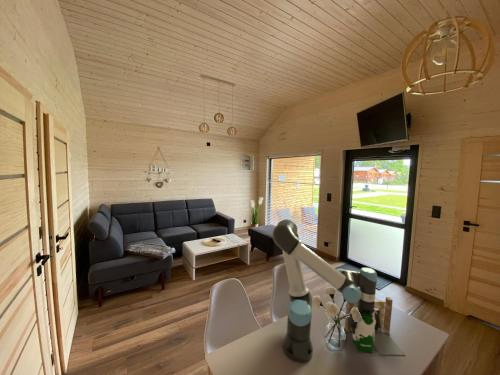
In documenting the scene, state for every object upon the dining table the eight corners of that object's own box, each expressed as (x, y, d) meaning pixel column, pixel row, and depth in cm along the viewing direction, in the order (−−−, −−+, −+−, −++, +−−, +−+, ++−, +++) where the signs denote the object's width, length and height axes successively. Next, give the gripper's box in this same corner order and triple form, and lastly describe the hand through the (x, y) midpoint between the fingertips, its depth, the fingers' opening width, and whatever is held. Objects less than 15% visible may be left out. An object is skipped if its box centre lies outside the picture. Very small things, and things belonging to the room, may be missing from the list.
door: (352, 332, 123) (355, 302, 121) (350, 328, 126) (352, 299, 124) (384, 333, 123) (387, 303, 121) (381, 329, 126) (383, 300, 124)
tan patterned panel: (347, 331, 124) (349, 298, 122) (344, 326, 127) (346, 295, 125) (389, 332, 123) (392, 300, 122) (385, 328, 127) (388, 296, 125)
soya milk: (357, 353, 109) (359, 316, 107) (350, 339, 118) (353, 305, 116) (375, 355, 108) (378, 318, 106) (367, 340, 117) (370, 306, 115)
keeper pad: (379, 354, 109) (379, 354, 109) (366, 334, 122) (366, 334, 122) (405, 355, 109) (405, 354, 109) (389, 335, 122) (389, 334, 121)
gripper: (349, 302, 107) (346, 344, 109) (391, 303, 107) (387, 345, 109) (342, 293, 114) (340, 332, 117) (382, 294, 114) (379, 334, 116)
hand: (363, 339), depth 113 cm, fingers closed on soya milk, 9 cm apart
